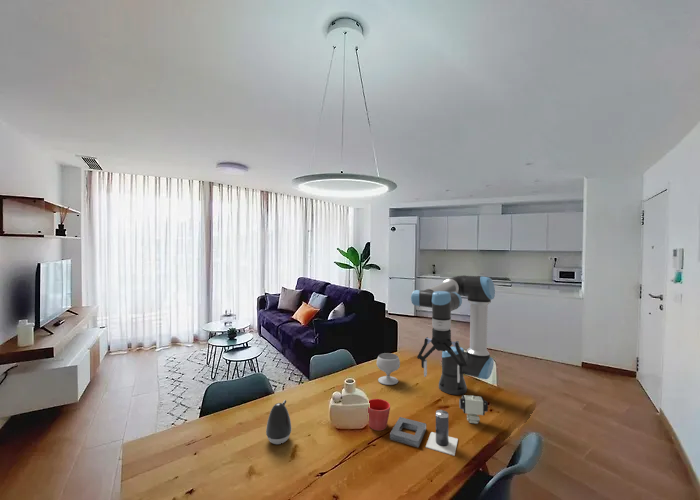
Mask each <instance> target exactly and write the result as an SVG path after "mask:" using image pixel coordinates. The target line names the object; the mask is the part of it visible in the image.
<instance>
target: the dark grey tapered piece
mask: <svg viewBox="0 0 700 500" xmlns="http://www.w3.org/2000/svg"><path fill="white" fill-rule="evenodd" d="M286 404H287V400H286V399H284V400H283V401H282V402H278V403H274V405H273V406H272V408H271V409H270V412H269V414H268V418H267V423H266V428H265V429H266V430H265V431H266V432H265V434H266V437H267V440H268V441H269V442H270V443H271V444H273V445H281V443H282V444H284V443H286V441H288V439H290V436H291V433H292V422H291V417H290V414H289V410H288V409H287V407H286Z"/></svg>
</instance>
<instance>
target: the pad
mask: <svg viewBox="0 0 700 500" xmlns="http://www.w3.org/2000/svg"><path fill="white" fill-rule="evenodd" d="M427 439H428V440H427V441H426V445H425V448H426V449H429V450H433V451H436V452H440V453H443V454H446V455H450V456H454V457H455V455H456V452H457V451H456V450H457V445H458V441H459V439H458V438H457V437H453V436H449V435H448V442H449V444H448V445H447V446H440V445H438V444H437V443H436V432H433V431H431V432H430V434H429V437H428V438H427Z"/></svg>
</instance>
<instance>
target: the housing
mask: <svg viewBox="0 0 700 500" xmlns="http://www.w3.org/2000/svg"><path fill="white" fill-rule="evenodd" d="M403 429H406V430H410V431H413V432H415V433H414V434H413V433H412V434H411V433H409V432H406V431H403ZM426 430H427V423H425V422H421V421H417V420H413V419H409V418H405V417H401V416H400V417H399V418H398V419H397V421H396V423H395V424H394V426H393V427H392V429H391V431H390V433H389V440H390V441H394V442H398V443H400V444H404V445H408V446H412V447H415V448H420V445H421V443H422V440H423V439H424V435H425V433H426Z"/></svg>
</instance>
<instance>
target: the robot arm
mask: <svg viewBox="0 0 700 500" xmlns="http://www.w3.org/2000/svg"><path fill="white" fill-rule="evenodd" d="M495 288H496V287H495V284H494V282H493V279H492V278H491V277H489V276H483V275H480V276H479V275H478V276H477V275H465V274H464V275H457V276H453V277H449V278H447V279H445V280H443V281H442V282H441V283H439V284H436V285H434V286H431V287H428V288H426V289H424V290H423V289H422V290H421V289H415V290H413V291H412V293H411V296H410V300H411V304H412V305H413V306H417V307H423V308H431V310H432V311H431V312H432V314H431V318H432V319H431V323H432V324H431V326H432V329H431V331H432V332H431V337H432V338H429V337H428V336H427V337H426V338H424V344H423V345H422V347H421V349H420V350H419V353H418V355H417V356H416V359H418V360H420V361H421V365H420V366H421V369H423V377H424V378H425V377H427V375H428V360H427V358H428V357H429V356H430V355H431V354H432V353H433V352H434V351H438V352H439V351H441V352H442V353H441V375H440V378H439V382H438V389H439V390H441V392H443V393H446V394H449V395H453V396H454V395H457V396H460V395H461V396H462V395H464V394H466V393H467V390H468V386H467V383H466V380H465V377H464V376H466V375H467V376H471V377H475V378H477V379H480V380H481V379H482V380H488V379H489V378H491V375H492V372H493V369H494V364H495V362H494V358H493V357H491V355H490V352H489V351H488V348H487V347H488V312H489V311H488V305H490V303H491V302H492V300H494V299H495V297H496V296H495V295H496V290H495ZM462 297H464V298H466V297H467V302H468V303H469V304H470V310H469V311H470V313H469V317H470V319H469V347H468V348H467V349H466V351H465V349H464V348H463V347H461V346H460V342H459V340H456V341H452V330H451V327H452V319H451V318H452V317H451V316H452V311H455V310H457V309H459V308H460V307H461V306H462V304H463V298H462ZM430 343H431V344H432V346H431V348H430V349H428V351H427V352H425V354H423V353H424V351H425V350H426V348H427V346H428V345H429V344H430Z"/></svg>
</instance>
